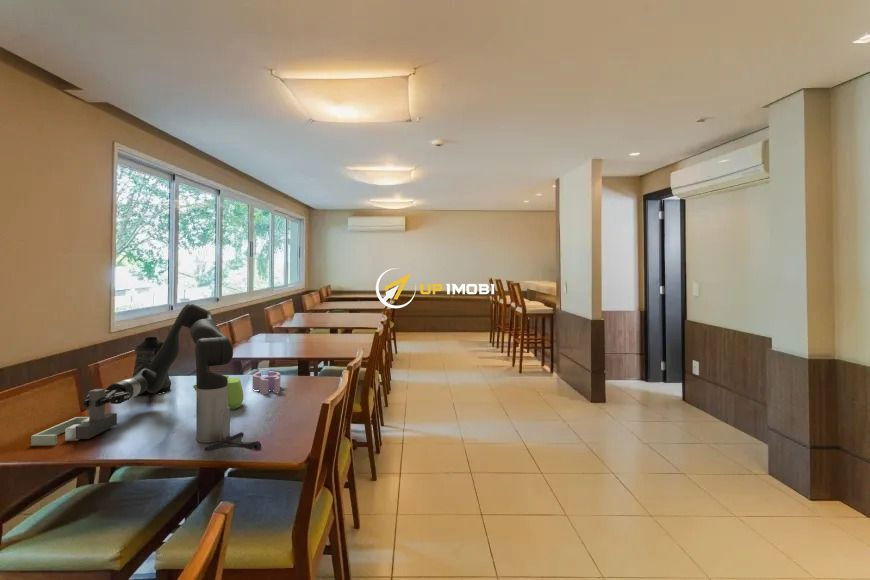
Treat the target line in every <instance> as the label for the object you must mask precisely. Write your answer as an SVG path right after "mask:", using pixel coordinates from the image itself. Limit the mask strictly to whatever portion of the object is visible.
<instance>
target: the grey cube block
mask: <svg viewBox="0 0 870 580" xmlns="http://www.w3.org/2000/svg"><path fill="white" fill-rule="evenodd" d="M78 425H80V424H74V425H72V426H70V427H67V428H65V432H64V433H65V434H64V437H65V438H64V439H65V442H67V441H70V442H71V441H76V442H77V441H81V440H80V439H76V426H78Z"/></svg>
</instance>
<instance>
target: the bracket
mask: <svg viewBox="0 0 870 580" xmlns="http://www.w3.org/2000/svg"><path fill="white" fill-rule="evenodd" d="M243 435H244V432H242V431H240V432H238V433H236V434H234V435H231V436H228V437H226V438H225V439H224V440H222V441H216V442H214V443H212V444H211V445H208V446H206V447H205V448H204V451H206V450H207V451H214V450H219V449H224V448H232V447H233V448H234V447H243V448H248V449H253V448H254V449H253V450H260V449H262V443H261V442H260V441H259V440H256V441H250V442H246V441H245V442H243V441H242V438H243V437H244V436H243ZM255 448H256V449H255ZM259 448H260V449H259Z"/></svg>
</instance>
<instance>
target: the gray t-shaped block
mask: <svg viewBox="0 0 870 580" xmlns="http://www.w3.org/2000/svg"><path fill="white" fill-rule="evenodd" d="M105 390H106V389H105V388H94V389H92V390H89V391H88V395H89V406H88V417H89V421H87V422H85V423H83V424H80V425H78V426H76V439H81V440H89V439H91V438H93V437H95V436H97V435H100V434H101V433H103V432H105V431H107V430H109V429H110V428H113V427H114V426H115V427H116V426H117V425H118V420H117V419H118V413H117V412H116V413H114V412H113V413H112V412H110V413H107V412H106V408H105V407H106V406H105V405H106V404H104V405H102V406H99V407H96V406H95V401H96V400H98V399H101V398H105Z"/></svg>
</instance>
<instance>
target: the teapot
mask: <svg viewBox="0 0 870 580" xmlns="http://www.w3.org/2000/svg"><path fill="white" fill-rule="evenodd" d="M224 376H226V377H227V380H228V407H230V411H231V410H232V411H233V410H236V409H237V408H241V406H242V404H243V401H244V390H243V385H242V382H241V379H240V377H229V375H225V374H224ZM192 387H193V389H194V390H195V391H196V384H193V385H192Z"/></svg>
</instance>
